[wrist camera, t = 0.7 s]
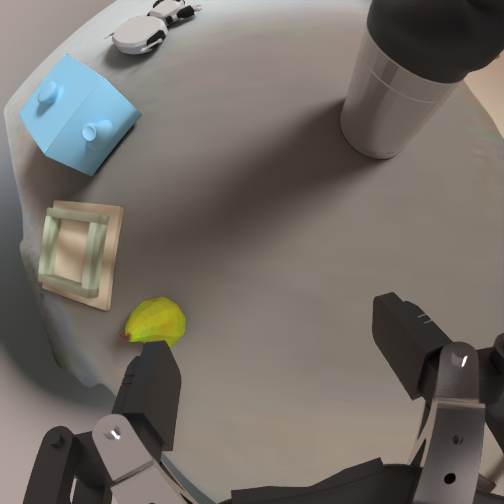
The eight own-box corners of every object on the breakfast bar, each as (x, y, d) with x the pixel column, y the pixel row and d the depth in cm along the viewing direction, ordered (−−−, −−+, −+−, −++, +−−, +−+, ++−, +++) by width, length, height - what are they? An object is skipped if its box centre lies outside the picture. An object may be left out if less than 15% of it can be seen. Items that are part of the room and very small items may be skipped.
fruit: (145, 337, 35) (90, 362, 23) (147, 291, 35) (89, 300, 23) (191, 346, 34) (147, 380, 22) (194, 297, 34) (147, 311, 22)
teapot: (58, 133, 39) (6, 103, 25) (98, 83, 38) (53, 43, 25) (121, 204, 36) (52, 178, 23) (173, 140, 36) (122, 87, 22)
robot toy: (166, 6, 39) (110, 52, 39) (160, -9, 35) (99, 37, 34) (210, 17, 38) (147, 67, 37) (205, -1, 33) (137, 50, 33)
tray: (58, 201, 38) (43, 197, 34) (124, 207, 36) (110, 202, 33) (46, 287, 38) (31, 288, 34) (110, 309, 36) (95, 313, 32)
